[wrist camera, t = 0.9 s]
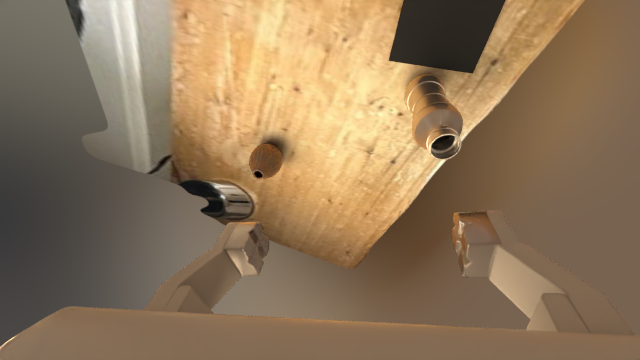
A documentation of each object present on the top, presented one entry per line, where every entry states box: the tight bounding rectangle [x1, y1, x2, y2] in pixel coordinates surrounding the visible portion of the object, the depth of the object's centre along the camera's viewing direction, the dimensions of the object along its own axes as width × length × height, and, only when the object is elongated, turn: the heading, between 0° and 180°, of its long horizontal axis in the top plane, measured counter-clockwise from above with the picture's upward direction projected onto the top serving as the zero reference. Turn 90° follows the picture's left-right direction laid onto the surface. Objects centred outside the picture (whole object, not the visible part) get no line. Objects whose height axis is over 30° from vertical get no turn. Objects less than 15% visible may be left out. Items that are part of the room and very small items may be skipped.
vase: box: [249, 144, 283, 179], centre depth 58 cm, size 7×7×9 cm
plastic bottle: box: [404, 74, 463, 160], centre depth 40 cm, size 6×7×20 cm
